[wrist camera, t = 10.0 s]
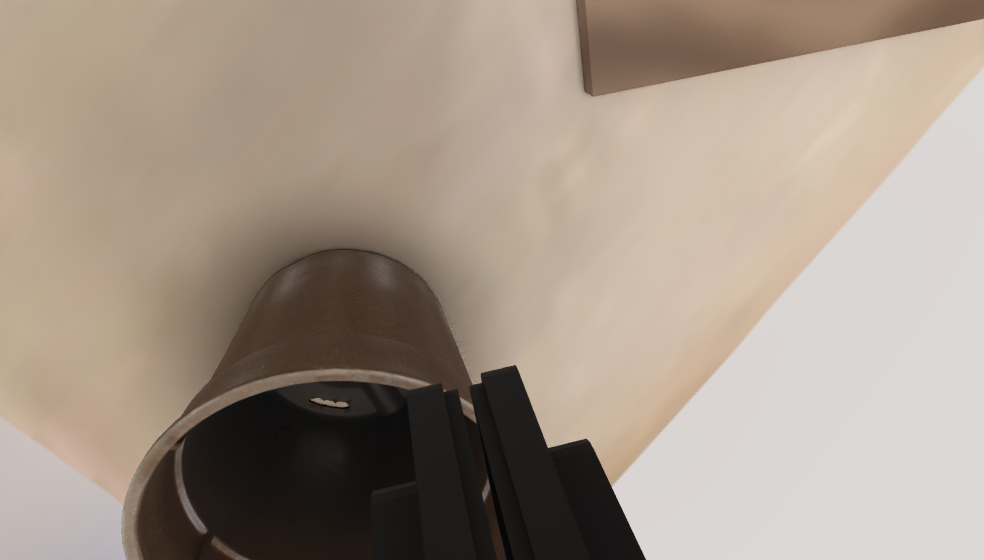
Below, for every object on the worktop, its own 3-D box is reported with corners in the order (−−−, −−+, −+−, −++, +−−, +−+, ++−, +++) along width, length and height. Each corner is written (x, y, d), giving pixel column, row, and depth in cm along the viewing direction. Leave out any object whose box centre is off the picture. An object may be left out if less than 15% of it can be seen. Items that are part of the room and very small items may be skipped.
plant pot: (202, 439, 43) (127, 681, 29) (203, 198, 37) (108, 359, 23) (453, 446, 47) (496, 663, 33) (495, 229, 41) (571, 383, 26)
